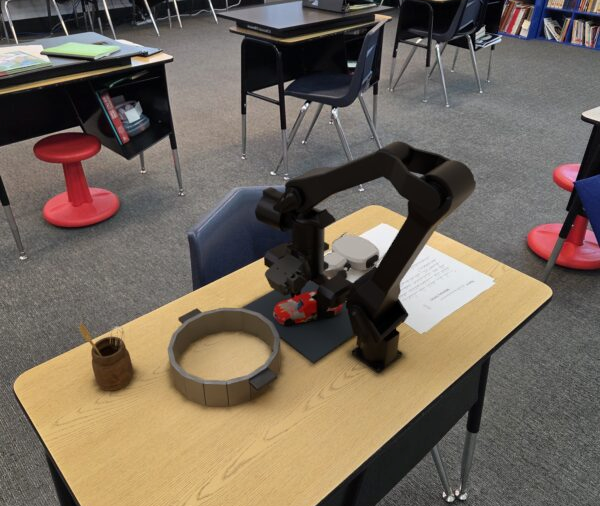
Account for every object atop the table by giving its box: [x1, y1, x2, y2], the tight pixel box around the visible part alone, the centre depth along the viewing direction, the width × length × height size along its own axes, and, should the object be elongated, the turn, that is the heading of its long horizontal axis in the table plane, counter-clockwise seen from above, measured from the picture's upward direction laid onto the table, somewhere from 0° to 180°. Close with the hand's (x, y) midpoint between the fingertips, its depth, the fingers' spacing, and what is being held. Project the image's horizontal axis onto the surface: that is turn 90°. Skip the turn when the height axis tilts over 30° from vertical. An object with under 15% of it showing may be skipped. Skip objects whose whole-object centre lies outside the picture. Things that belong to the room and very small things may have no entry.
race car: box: [273, 291, 342, 326], centre depth 102 cm, size 13×5×4 cm, turn 105°
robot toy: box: [323, 229, 386, 279], centre depth 116 cm, size 12×4×15 cm
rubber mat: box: [241, 281, 356, 364], centre depth 103 cm, size 20×16×1 cm
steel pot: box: [167, 307, 281, 408], centre depth 91 cm, size 22×18×5 cm
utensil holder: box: [78, 322, 134, 391], centre depth 87 cm, size 6×6×12 cm
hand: (307, 309), depth 103 cm, fingers closed on race car, 6 cm apart
